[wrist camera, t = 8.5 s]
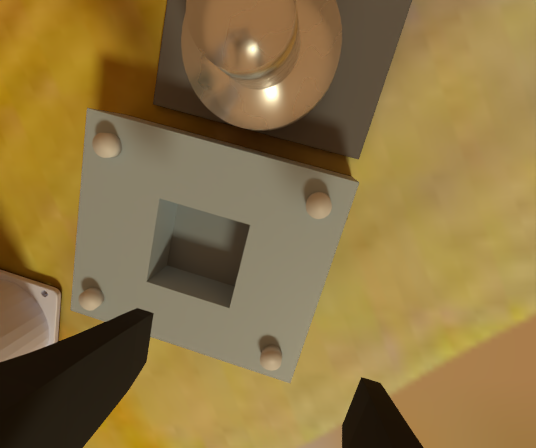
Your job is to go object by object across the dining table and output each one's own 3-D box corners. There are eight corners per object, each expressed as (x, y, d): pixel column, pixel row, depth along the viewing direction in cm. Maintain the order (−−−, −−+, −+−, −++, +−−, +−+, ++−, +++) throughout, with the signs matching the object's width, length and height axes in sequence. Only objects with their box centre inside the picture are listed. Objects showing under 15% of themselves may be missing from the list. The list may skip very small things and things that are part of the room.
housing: (103, 288, 22) (62, 315, 18) (123, 114, 18) (78, 106, 15) (293, 350, 20) (289, 391, 17) (351, 176, 17) (360, 184, 14)
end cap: (193, 114, 17) (125, 96, 11) (219, -29, 15) (153, -151, 9) (314, 146, 17) (313, 147, 10) (355, 2, 15) (386, -104, 8)
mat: (156, 104, 18) (153, 104, 17) (179, -57, 16) (176, -62, 15) (357, 159, 17) (358, 159, 16) (412, -6, 15) (415, -10, 14)
